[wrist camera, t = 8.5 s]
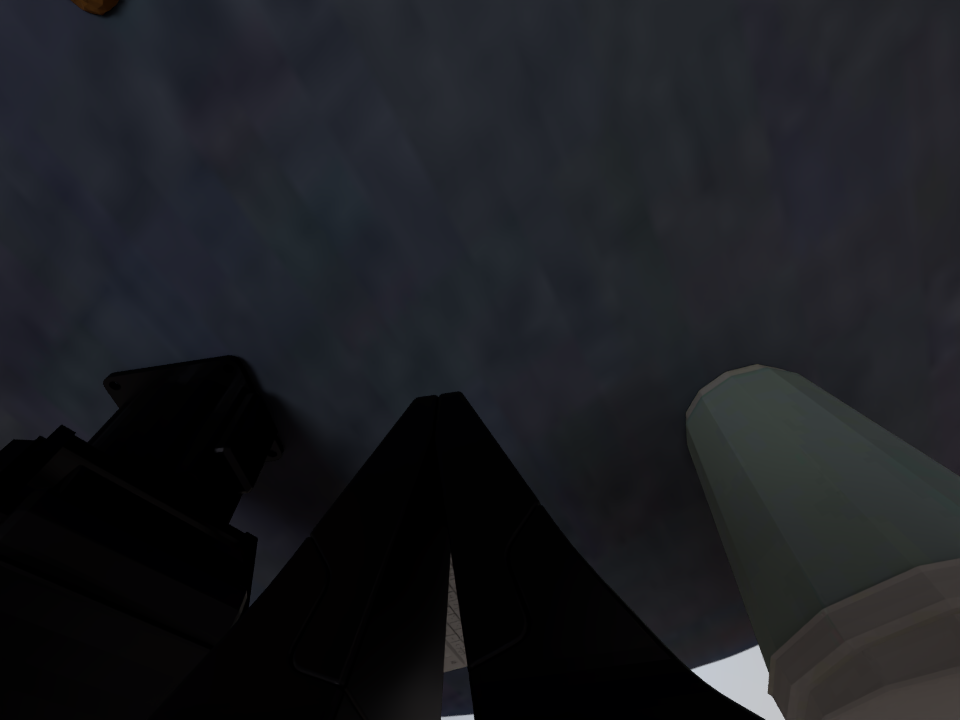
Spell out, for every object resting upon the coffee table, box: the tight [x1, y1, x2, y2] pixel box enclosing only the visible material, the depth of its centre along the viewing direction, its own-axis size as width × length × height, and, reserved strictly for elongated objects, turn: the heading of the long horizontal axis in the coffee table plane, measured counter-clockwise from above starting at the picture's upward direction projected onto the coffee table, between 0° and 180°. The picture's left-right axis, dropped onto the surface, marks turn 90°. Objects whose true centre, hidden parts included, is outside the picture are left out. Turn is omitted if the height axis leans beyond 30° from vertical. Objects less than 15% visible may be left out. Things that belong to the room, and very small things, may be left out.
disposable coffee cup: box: [686, 364, 960, 720], centre depth 20 cm, size 11×11×15 cm
